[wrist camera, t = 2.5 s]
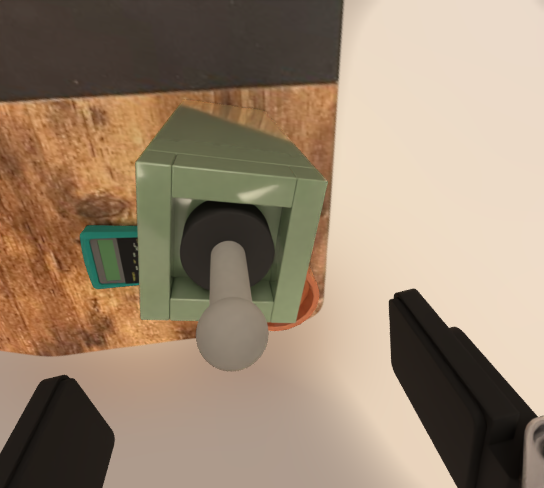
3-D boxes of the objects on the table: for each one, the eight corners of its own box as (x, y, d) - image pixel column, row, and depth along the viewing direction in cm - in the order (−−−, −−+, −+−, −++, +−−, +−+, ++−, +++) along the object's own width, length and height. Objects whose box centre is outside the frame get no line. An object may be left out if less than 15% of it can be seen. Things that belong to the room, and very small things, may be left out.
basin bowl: (234, 304, 46) (235, 330, 42) (241, 242, 42) (244, 263, 37) (301, 307, 48) (310, 332, 44) (315, 247, 44) (326, 268, 39)
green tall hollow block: (181, 178, 37) (140, 320, 17) (183, 98, 34) (134, 161, 14) (254, 185, 39) (295, 323, 19) (264, 110, 35) (328, 181, 15)
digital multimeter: (222, 272, 44) (223, 285, 41) (97, 278, 41) (90, 293, 39) (220, 218, 40) (220, 229, 38) (84, 222, 38) (74, 234, 35)
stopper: (181, 269, 18) (159, 410, 11) (184, 191, 16) (158, 300, 9) (263, 273, 19) (291, 407, 12) (275, 199, 17) (318, 305, 10)
